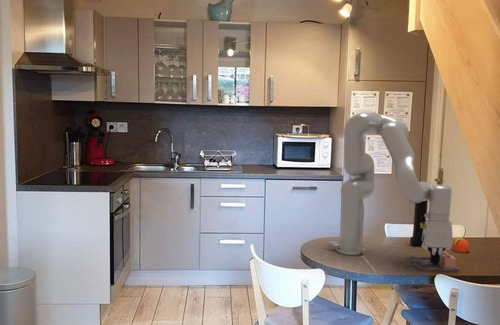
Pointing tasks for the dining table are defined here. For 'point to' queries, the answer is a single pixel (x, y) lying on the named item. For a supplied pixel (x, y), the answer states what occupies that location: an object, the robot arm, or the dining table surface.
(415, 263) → the switch board
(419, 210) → the portable radio
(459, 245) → the clementine
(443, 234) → the robot arm
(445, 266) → the pink block
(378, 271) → the dining table surface
